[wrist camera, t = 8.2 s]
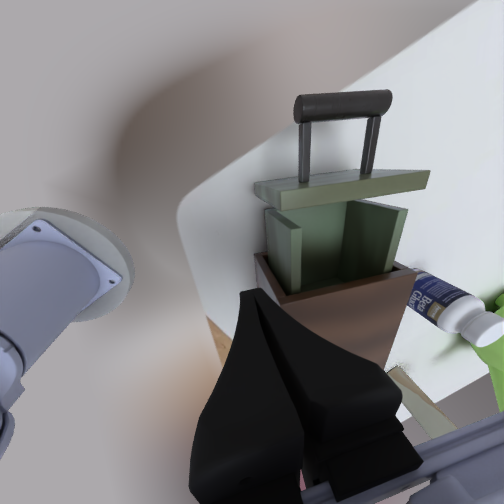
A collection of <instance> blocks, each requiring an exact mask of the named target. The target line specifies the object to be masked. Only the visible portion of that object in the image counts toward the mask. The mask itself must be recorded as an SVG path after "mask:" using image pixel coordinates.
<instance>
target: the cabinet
mask: <svg viewBox="0 0 504 504" xmlns="http://www.w3.org/2000/svg"><path fill="white" fill-rule="evenodd" d="M254 260H255V269H256V278H257V288H260V287H261V288H262V289H263V290H264V291H265V292H266V293H267V294H268V295H269V296H270V297H271V299H272V300H273V301H274V302H276V303H277V304H278V305H279V306H280V307H281V308H282V309H283V310H284V311H285V312H287V313H288V314H289V315H290V316H291V317H293V318H294V319H295V320H297V321H298V322H299V323H301V324H302V325H303V326H305V327H306V328H308V329H309V330H311V331H312V332H314V333H316V334H317V335H319V336H321V337H322V338H324V339H326V340H328V341H329V342H331V343H333V344H335V345H337V346H339V347H341V348H343V349H345V350H347V351H349V352H351V353H353V354H356V355H358V356H360V357H363V358H365V359H367V360H370V361H372V362H374V363H377V364H378V365H379V366H380V367H381V368H382V369H383V370H384V367H385V365H386V362H387V359H388V356H389V353H390V351H391V348H392V345H393V342H394V339H395V337H396V334H397V331H398V328H399V325H400V322H401V320H402V317H403V314H404V311H405V308H406V306H407V303H408V300H409V297H410V294H411V291H412V289H413V286H414V283H415V280H416V277H417V275H418V272H416V271H414V270H412V269H410V268H408V267H406V266H404V265H402V264H400V263H398V262H396V261H394V263H393V267H392V270H391V272H390V273H385V274H381V275H376V276H372V277H368V278H363V279H359V280H355V281H350V282H346V283H341V284H337V285H333V286H328V287H324V288H320V289H315V290H311V291H306V292H302V293H298V294H293V295H289V296H286V295H285V293H284V291H283V290H282V288H281V286H280V285H279V283H278V281H277V280H276V278H275V276H274V275H273V273H272V271H271V270H270V268H269V263H268V251H267V252H262V253H256V254H254Z"/></svg>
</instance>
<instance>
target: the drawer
mask: <svg viewBox="0 0 504 504" xmlns="http://www.w3.org/2000/svg"><path fill="white" fill-rule="evenodd" d="M391 103H392V92H391V91H390V90H388V89H386V90H370V91H354V92H338V93H321V94H305V95H299V96H298V97H297V98H296V101H295V104H294V120H295V122H296V123H297V124H300V125H299V174H298V177H292V178H285V179H277V180H269V181H262V182H255V183H254V185H255V195H256V196H257V197H258V198H260V199H262V200H263V201H265V202H266V203H268V204H270V205H271V206H273V207H275V208H273V209H266V210H265V221H266V235H267V249H268V263H269V268H270V270H271V271H272V273H273V275H274V276H275V278H276V280H277V281H278V283H279V285H280V286H281V288H282V290H283V291H284V293H285V295H286V296H289V295H293V294H298V293H302V292H306V291H311V290H315V289H320V288H324V287H328V286H333V285H337V284H341V283H346V282H350V281H355V280H359V279H363V278H368V277H372V276H376V275H381V274H385V273H390V272H391V270H392V267H393V263H394V259H395V256H396V252H397V249H398V245H399V241H400V238H401V234H402V231H403V227H404V223H405V220H406V216H407V213H408V209H405V208H400V207H395V206H390V205H386V204H381V203H376V202H372V201H367V200H362V199H365V198H371V197H377V196H384V195H390V194H396V193H403V192H409V191H415V190H422V189H425V188H426V185H427V181H428V178H429V175H430V172H431V171H430V170H385V169H373V163H374V157H375V151H376V145H377V140H378V134H379V128H380V122H381V116H383V115H384V114H385V113H386V112H387V111H388V109H389V108H390V106H391ZM361 118H369V119H368V120H367V126H366V133H365V140H364V147H363V154H362V161H361V168H360V169H354V170H346V171H338V172H331V173H323V174H315V175H310V146H311V123H314V122H326V121H338V120H349V119H361Z"/></svg>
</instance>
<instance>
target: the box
mask: <svg viewBox="0 0 504 504" xmlns="http://www.w3.org/2000/svg"><path fill="white" fill-rule="evenodd" d="M387 374H388V375H389V377H390V378H391V379H392V380H393V381H394V382H395V384H396V385H397V386H398V387H399V388H400V389H401V390H402V395H403V399H402V403H403V404H404V406H405V407H406V408H407V409H408V411H409V412H410V413H411V414H412V416H413V417H414V418H415V419H416V421H417V422H418V423H419V424H420V425H421V427H422V428H423V429H424V430H425V432H426V433H427V434H428V435H429V437H430V438H431V439H434V438H437V437H439V436H442V435H444V434H447V433H449V432H452V431H454V430H457V429H458V428H457V427H456V426H455V425H454V424H453V423H452V422H451V421H450V420H449V419H448V417H446V415H445V414H444V413H443V412H442V411H441V410H440V409H439V408H438V407H437V406H436V405H435V404H434V403H433V402H432V401H431V400H430V398H429V397H428V396H427V395H426V394H425V393H424V392H423V391H422V390H421V389H420V388H419V387H418V386H417V385H416V384H415V383H414V382H413V380H412V379H411V378H410V377H409V376H408V375H407V374H406V373H405V372H404V371H403V370H402V369H400V368H399V367H398V366H396V367H395V368H394V369H392V370H391V371H390V372H388V373H387Z"/></svg>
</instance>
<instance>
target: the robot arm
mask: <svg viewBox="0 0 504 504" xmlns="http://www.w3.org/2000/svg"><path fill="white" fill-rule="evenodd" d="M36 226H37V227H39V228H40V230H38V229H37V228H36ZM122 279H123V277H122V275H121V274H119V273H118V272H117V271H115V270H114V269H113V268H111V267H110V266H109V265H107V264H106V263H105V262H103V261H102V260H100V259H99V258H98V257H96V256H95V255H94V254H92V253H91V252H90V251H88V250H87V249H86V248H84V247H83V246H82V245H80V244H79V243H77V242H76V241H75V240H73V239H72V238H71V237H69V236H68V235H67V234H65V233H64V232H63V231H61V230H60V229H59V228H57V227H56V226H54V225H53V224H52V223H50V222H49V221H47V220H46V219H38V220H35V221H34V222H33V223H31V224H30V225H29V226H28V227H27V228H25V229H24V230H23V231H22V232H20V233H19V234H18V235H17V236H16V237H14V238H13V239H12V240H11V241H10V242H8V243H7V244H6V245H5V246H4V247H2V248H1V249H0V459H1V458H2V456H3V454H4V453H5V451H6V449H7V447H8V445H9V443H10V441H11V438H12V436H13V432H14V428H15V420H14V417H13V415H12V414H11V413H10V412H9V411H8V410H9V409H10V407H11V406H12V405H13V404H14V403H15V401H16V400H17V399H18V397H20V395H21V394H22V393H23V392H24V391H25V388H24V387H23V386H22V385H21V383H20V379H21V377H22V376H23V375H24V374H25V373H26V372H27V371H28V369H30V367H31V366H32V365H33V364H34V363H35V362H36V361H37V360H38V358H39V357H40V356H41V355H42V354H43V353H44V352H45V351H46V349H47V348H48V347H49V346H50V345H51V344H52V342H54V341H55V339H56V338H57V337H58V336H59V335H60V334H61V332H63V330H64V329H65V328H66V327H67V326H68V325H69V324H70V323H71V321H72V320H73V319H74V318H75V317H76V316H77V315H78V314H79V313H80V312H81V311H82V310H84V309H85V308H86V307H88V306H89V305H90V304H92V303H93V302H94V301H96V300H97V299H98V298H100V297H101V296H102V295H104V294H105V293H106V292H108V291H109V290H110V289H112V288H113V287H114V286H116V285H117V284H118V283H120V282H121V280H122ZM111 280H114V281H115V282H112V281H111ZM239 294H240V309H239V316H238V322H237V326H236V331H235V335H234V338H233V342H232V345H231V348H230V351H229V354H228V357H227V359H226V362H225V365H224V367H223V369H222V372H221V374H220V376H219V378H218V381H217V383H216V385H215V388H214V390H213V392H212V394H211V396H210V398H209V399H208V402H207V403H206V405H205V407H204V409H203V411H202V413H201V415H200V417H199V420H198V424H197V428H196V432H195V436H194V441H193V446H192V452H191V459H190V473H189V474H190V475H189V489H190V492H191V493H192V494H193V496H194V497H195V498H196V499H197V501H198V502H199V503H200V504H375V503H377V502H379V501H382V500H384V499H386V498H389V497H391V496H393V495H396V494H398V493H400V492H403V491H405V490H407V489H409V488H412V487H414V486H416V485H419V484H421V483H423V482H426V481H428V480H430V479H431V480H430V485H428V486H427V487H425V488H423V489H421V490H420V491H418V492H416V493H414V494H413V495H411V496H410V498H409V501H408V502H407V503H406V504H504V411H502V412H500V413H497V414H495V415H492V416H490V417H488V418H485V419H482V420H480V421H477V422H475V423H472V424H470V425H467V426H465V427H462V428H460V429H457V430H454V431H452V432H449V433H447V434H444V435H442V436H439V437H437V438H434V439H432V440H429V441H427V442H424V443H422V444H419V445H417V446H414V447H413V446H412V444H411V443H410V442H409V440H408V439H407V438H406V436H405V435H404V433H403V432H402V431H403V430H404V428H403V425H402V424H401V423H400V421H399V420H398V419H397V417H396V416H395V415H396V412H397V410H398V408H399V406H400V404H401V402H402V399H403V395H402V390H401V389H400V388H399V387H398V386H397V385H396V384H395V382H394V381H393V380H392V379H391V378H390V377H389V375H388V374H387V373H386V372H385V371H384V370H383V369H382V368H381V367H380V366H379V365H378V364H377V363H374V362H372V361H370V360H367V359H365V358H363V357H360V356H358V355H356V354H353V353H351V352H349V351H347V350H345V349H343V348H341V347H339V346H337V345H335V344H333V343H331V342H329V341H328V340H326V339H324V338H322V337H321V336H319V335H317V334H316V333H314V332H312V331H311V330H309V329H308V328H306V327H305V326H303V325H302V324H301V323H299V322H298V321H297V320H295V319H294V318H293V317H291V316H290V315H289V314H288V313H287V312H285V311H284V310H283V309H282V308H281V307H280V306H279V305H278V304H277V303H276V302H274V301H273V300H272V299H271V297H270V296H269V295H268V294H267V293H266V292H265V291H264V290H263V289H262V288H261V287H260V288H255V289H251V290H246V291H242V292H240V293H239ZM300 469H301V470H302V474H303V478H304V482H305V486H306V490H303V491H301V489H300Z"/></svg>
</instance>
